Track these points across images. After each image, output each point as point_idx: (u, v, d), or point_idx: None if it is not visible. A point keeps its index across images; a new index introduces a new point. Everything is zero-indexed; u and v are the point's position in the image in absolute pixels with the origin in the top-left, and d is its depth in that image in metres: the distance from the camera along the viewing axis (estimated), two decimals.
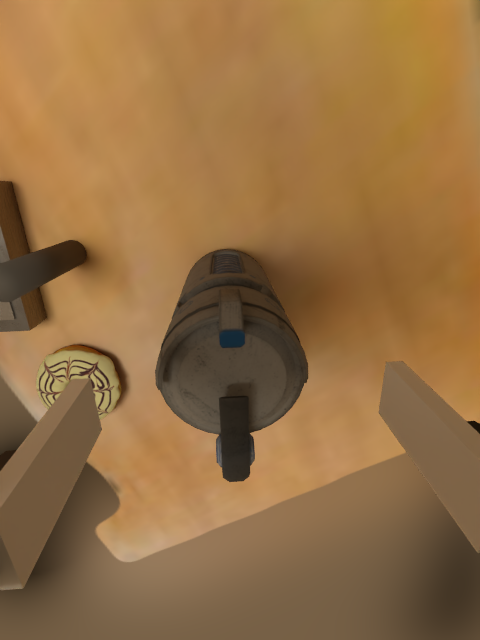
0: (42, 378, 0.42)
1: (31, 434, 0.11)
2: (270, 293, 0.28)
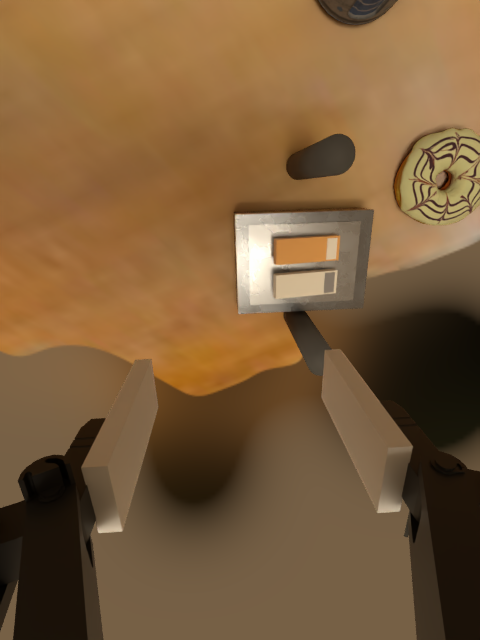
0: (427, 213, 0.40)
1: (114, 404, 0.13)
2: None
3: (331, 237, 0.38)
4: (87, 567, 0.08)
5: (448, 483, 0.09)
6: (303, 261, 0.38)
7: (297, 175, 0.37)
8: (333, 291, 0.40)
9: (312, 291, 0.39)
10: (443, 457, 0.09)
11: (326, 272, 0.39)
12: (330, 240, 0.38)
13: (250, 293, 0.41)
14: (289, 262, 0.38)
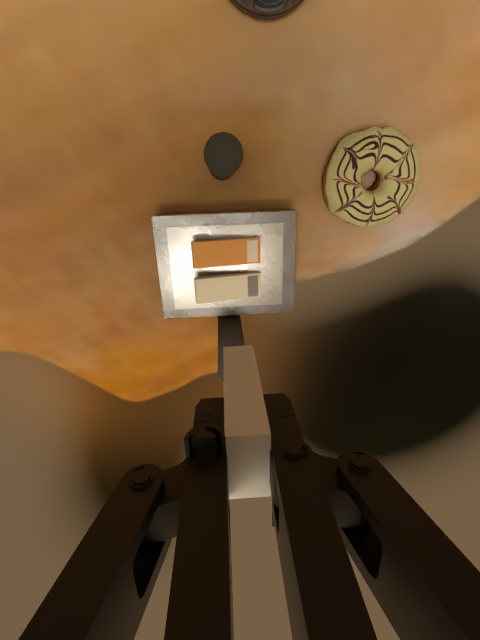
0: (354, 215, 0.38)
1: None
2: None
3: (251, 239, 0.36)
4: (229, 537, 0.08)
5: (297, 468, 0.09)
6: (223, 264, 0.37)
7: (213, 175, 0.35)
8: (258, 294, 0.39)
9: (235, 294, 0.38)
10: (290, 443, 0.10)
11: (249, 275, 0.38)
12: (250, 242, 0.36)
13: (173, 297, 0.40)
14: (208, 266, 0.36)
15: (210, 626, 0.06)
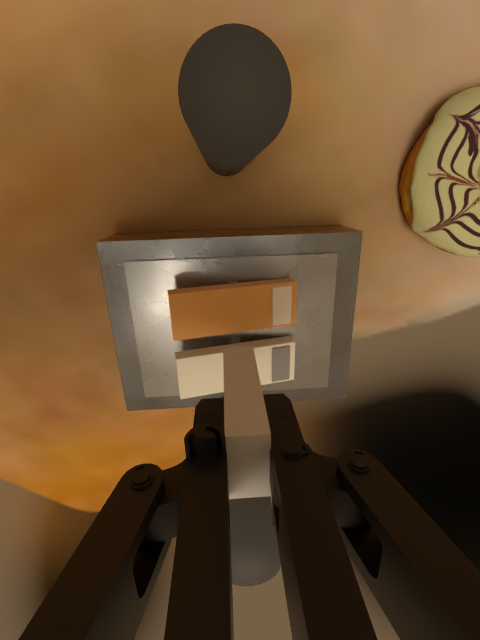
0: (460, 238, 0.22)
1: None
2: None
3: (280, 285, 0.20)
4: (229, 537, 0.08)
5: (297, 468, 0.09)
6: (228, 331, 0.20)
7: (210, 166, 0.19)
8: (289, 377, 0.22)
9: None
10: (290, 443, 0.10)
11: (274, 347, 0.21)
12: (278, 291, 0.20)
13: (142, 378, 0.23)
14: (200, 334, 0.19)
15: (210, 626, 0.06)
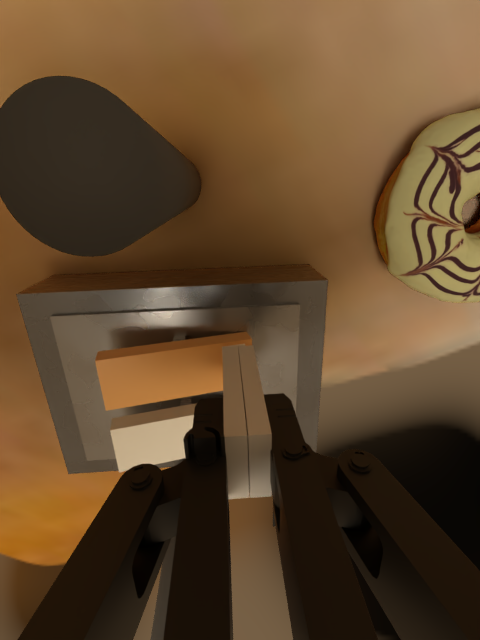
0: (442, 283, 0.19)
1: (223, 384, 0.14)
2: None
3: (231, 344, 0.17)
4: (228, 537, 0.08)
5: (297, 468, 0.09)
6: (171, 396, 0.17)
7: None
8: None
9: None
10: (291, 443, 0.10)
11: None
12: None
13: (82, 440, 0.20)
14: (137, 402, 0.17)
15: (209, 627, 0.06)
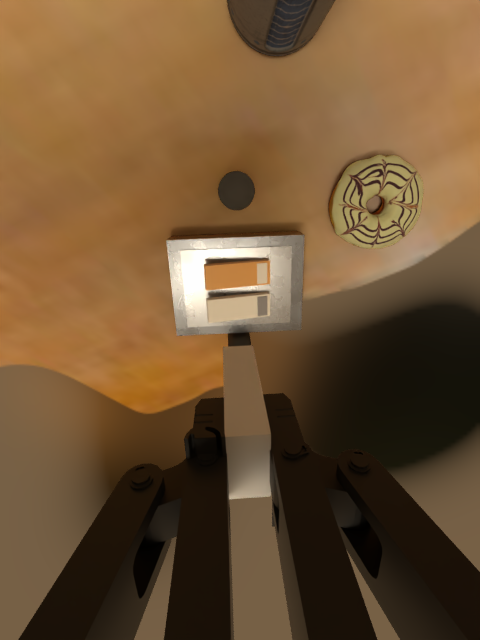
0: (359, 238, 0.40)
1: (224, 384, 0.14)
2: None
3: (261, 262, 0.38)
4: (229, 537, 0.08)
5: (297, 468, 0.09)
6: (234, 286, 0.38)
7: None
8: (267, 314, 0.41)
9: (245, 314, 0.40)
10: (290, 444, 0.10)
11: (258, 296, 0.39)
12: (260, 265, 0.38)
13: (186, 315, 0.41)
14: (219, 287, 0.38)
15: (210, 626, 0.06)
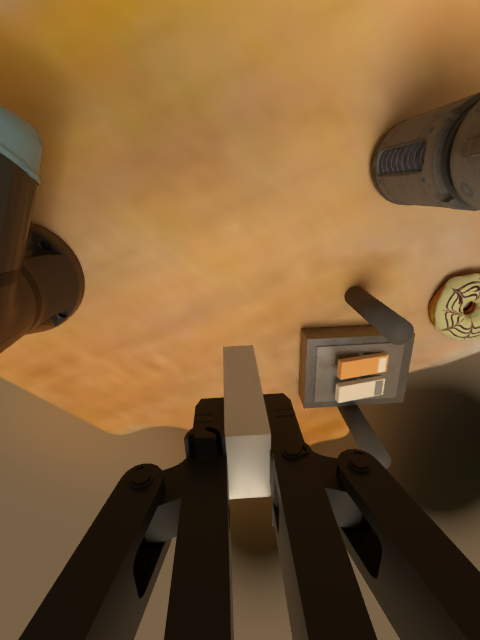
0: (455, 333, 0.50)
1: None
2: (457, 109, 0.29)
3: (382, 357, 0.48)
4: (229, 537, 0.08)
5: (296, 468, 0.09)
6: (360, 375, 0.49)
7: None
8: (381, 393, 0.51)
9: (365, 394, 0.50)
10: (290, 444, 0.10)
11: (377, 381, 0.50)
12: (381, 359, 0.48)
13: (314, 393, 0.52)
14: (350, 377, 0.48)
15: (210, 626, 0.06)
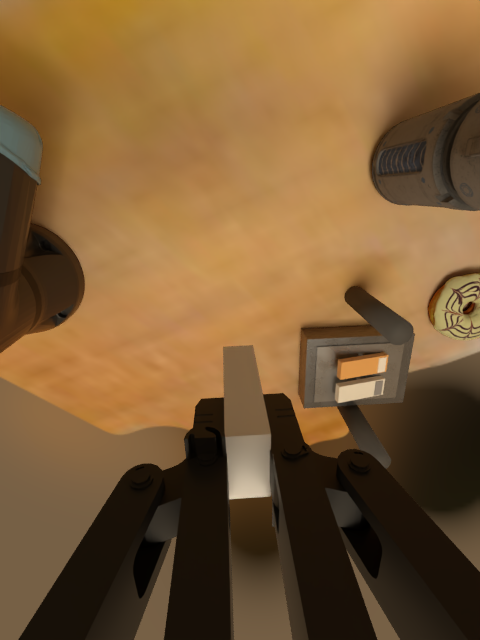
0: (455, 333, 0.50)
1: None
2: (457, 109, 0.29)
3: (382, 357, 0.48)
4: (229, 537, 0.08)
5: (297, 468, 0.09)
6: (360, 375, 0.49)
7: None
8: (381, 393, 0.51)
9: (365, 394, 0.50)
10: (290, 444, 0.10)
11: (376, 381, 0.50)
12: (381, 359, 0.48)
13: (314, 393, 0.52)
14: (350, 377, 0.48)
15: (210, 626, 0.06)
